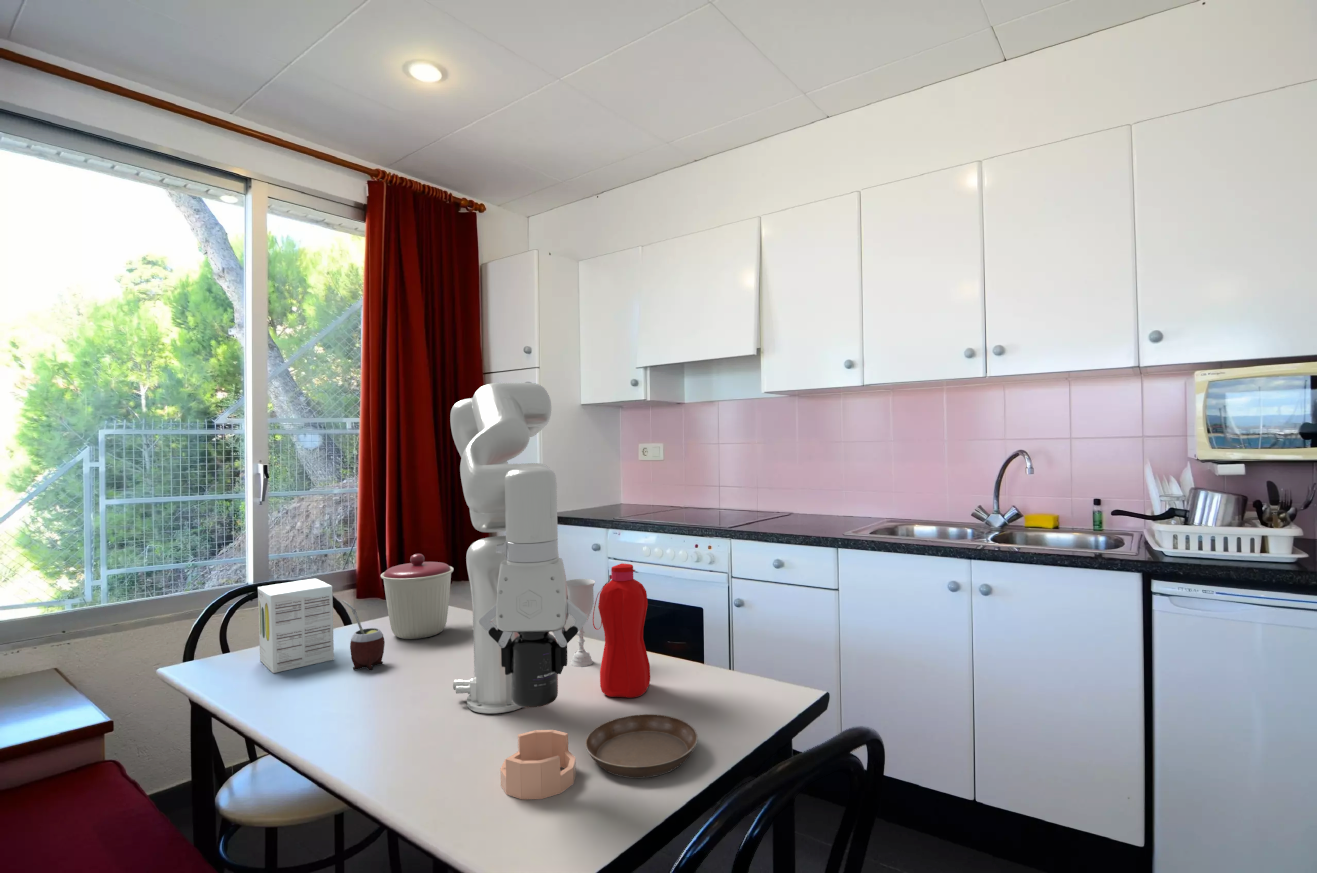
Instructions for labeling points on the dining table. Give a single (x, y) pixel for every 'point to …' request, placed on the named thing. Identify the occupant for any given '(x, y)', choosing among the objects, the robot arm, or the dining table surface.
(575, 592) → the chalice
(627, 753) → the plant saucer
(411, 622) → the canister
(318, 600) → the supplement box
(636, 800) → the dining table surface
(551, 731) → the holder cup
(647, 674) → the water bottle
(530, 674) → the supplement bottle
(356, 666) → the mate gourd
